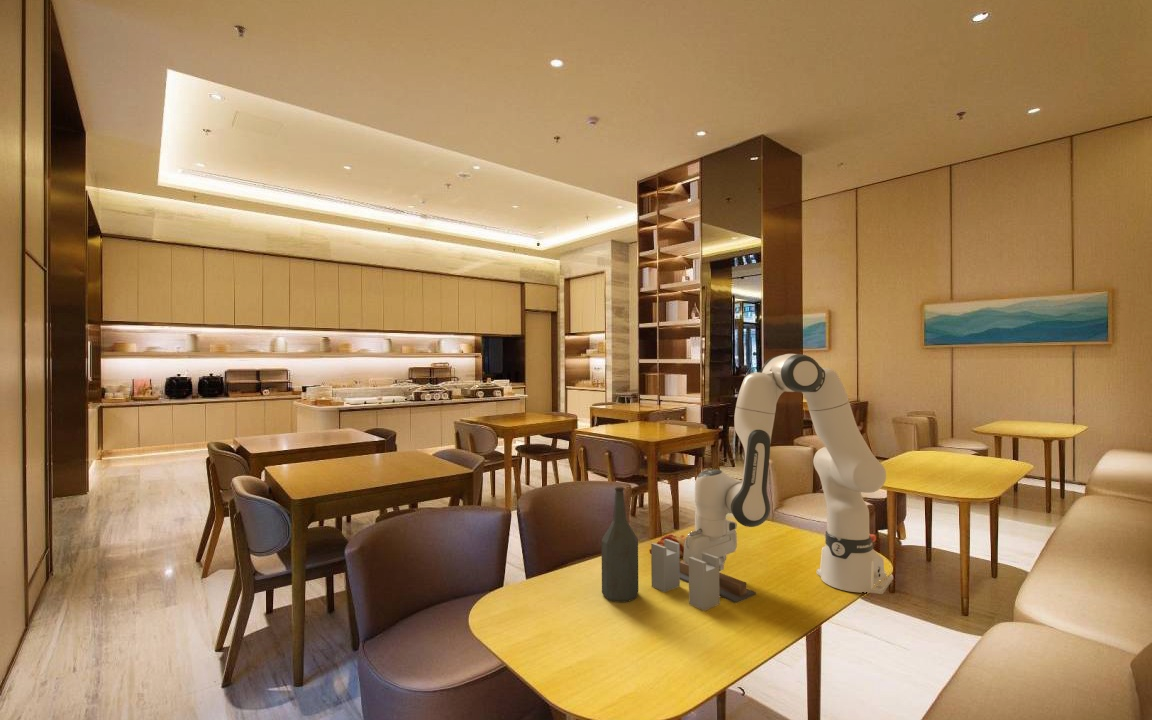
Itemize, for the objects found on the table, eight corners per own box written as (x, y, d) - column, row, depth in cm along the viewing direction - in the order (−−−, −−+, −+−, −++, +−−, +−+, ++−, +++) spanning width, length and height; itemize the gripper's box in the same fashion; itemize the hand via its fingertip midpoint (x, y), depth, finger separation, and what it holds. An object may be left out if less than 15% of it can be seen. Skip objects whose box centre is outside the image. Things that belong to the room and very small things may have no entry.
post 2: (704, 597, 144) (704, 552, 144) (719, 604, 140) (719, 557, 140) (689, 603, 140) (688, 557, 140) (703, 610, 136) (703, 563, 136)
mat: (689, 567, 165) (689, 565, 165) (755, 594, 145) (755, 592, 145) (669, 574, 159) (669, 572, 159) (736, 603, 140) (736, 601, 140)
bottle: (644, 599, 143) (644, 489, 143) (612, 605, 139) (611, 492, 139) (627, 584, 152) (626, 481, 153) (596, 590, 149) (595, 484, 149)
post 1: (666, 580, 155) (666, 538, 155) (679, 586, 151) (679, 543, 151) (651, 586, 151) (651, 543, 151) (664, 592, 147) (664, 548, 147)
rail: (685, 569, 162) (685, 559, 162) (746, 593, 145) (746, 582, 145) (678, 571, 160) (678, 561, 160) (739, 596, 143) (739, 585, 143)
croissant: (693, 555, 185) (686, 532, 188) (711, 549, 177) (704, 525, 181) (645, 565, 175) (639, 541, 178) (662, 560, 167) (655, 534, 170)
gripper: (695, 536, 144) (695, 586, 144) (740, 522, 156) (740, 568, 156) (677, 530, 149) (678, 579, 149) (723, 517, 161) (723, 562, 161)
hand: (710, 573), depth 152 cm, fingers open, 7 cm apart
